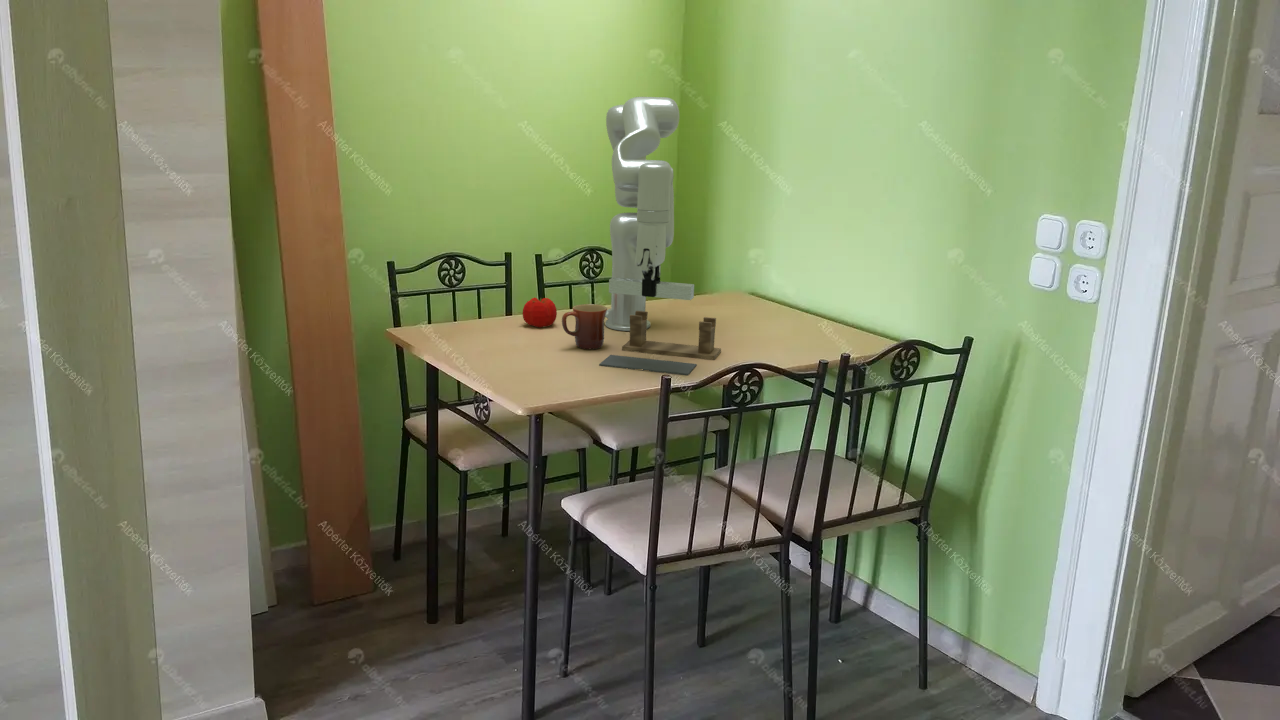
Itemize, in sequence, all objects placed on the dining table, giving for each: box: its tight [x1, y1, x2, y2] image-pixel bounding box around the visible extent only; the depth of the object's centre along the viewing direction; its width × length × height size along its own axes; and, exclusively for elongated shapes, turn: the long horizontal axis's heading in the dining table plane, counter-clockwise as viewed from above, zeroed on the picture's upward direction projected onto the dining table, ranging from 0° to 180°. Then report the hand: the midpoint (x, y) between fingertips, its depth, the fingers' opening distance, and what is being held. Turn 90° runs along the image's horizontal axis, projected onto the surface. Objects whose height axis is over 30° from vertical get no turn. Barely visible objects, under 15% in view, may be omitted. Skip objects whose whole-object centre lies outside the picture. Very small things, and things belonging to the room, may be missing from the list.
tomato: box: [522, 297, 558, 329], centre depth 276 cm, size 9×9×8 cm
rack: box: [621, 310, 722, 361], centre depth 254 cm, size 24×8×9 cm, turn 74°
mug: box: [561, 303, 608, 351], centre depth 255 cm, size 12×9×10 cm
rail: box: [608, 277, 695, 301], centre depth 237 cm, size 20×3×3 cm, turn 74°
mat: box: [598, 354, 697, 376], centre depth 242 cm, size 22×9×1 cm, turn 74°
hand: (650, 294), depth 237 cm, fingers closed on rail, 3 cm apart
